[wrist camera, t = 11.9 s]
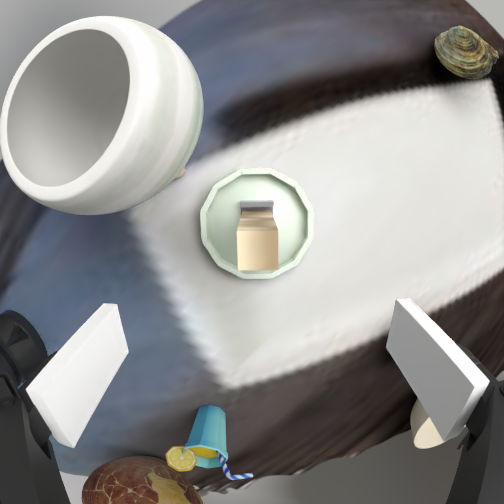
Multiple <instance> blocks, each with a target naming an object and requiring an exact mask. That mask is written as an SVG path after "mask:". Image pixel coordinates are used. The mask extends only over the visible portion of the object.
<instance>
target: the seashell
mask: <svg viewBox="0 0 504 504" xmlns="http://www.w3.org/2000/svg"><path fill="white" fill-rule="evenodd" d="M435 51H436V55H437V57H438V58H439V60H440V62H441V63H442V64H443V65H444V66H445V67H446V68H447V69H448V70H449V71H451V72H452V73H454V74H456V75H458V76H460V77H463V78H467V79H478V78H482V77H484V76H486V75H487V74H488V73H489V72H490V71H491V68H492V65H493V64H494V63H496V61H497V58H499V55H498V52H497V51H496V50H495V49H494V48H493V47H492V46H490V45H489V44H488V43H487V42H485V41H484V40H482V39H481V38H480V36H478V35H477V34H476V33H475V32H473V31H471V30H469V29H467V28H465V27H463V26H456V27H453V28H451V29H450V30H449V31H446V32H443V33H441V34H440V35H439V36H438V37H436V38H435Z"/></svg>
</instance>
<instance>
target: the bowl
mask: <svg viewBox="0 0 504 504" xmlns="http://www.w3.org/2000/svg"><path fill="white" fill-rule="evenodd" d="M410 422H411V430H412V436H413V441H414V444H415V446H416V447H418V448H430V447H434V446H436V445H439V444H441V443H443V442H445V441H443V440H442V438H441V436H440V435H439V433H438V431H437V429H436V428H435V426H434V424H433V422H432V421H431V419H430V417H429V416H428V414H427V412H426V411H425V409H424V407H423V406H422V404H421V402H420V401H419V399H417V400H416V402H415V404H414V406H413V409H412V412H411V419H410ZM465 426H466V425H465ZM465 426H464V427H465ZM446 441H447V440H446Z"/></svg>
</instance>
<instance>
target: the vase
mask: <svg viewBox="0 0 504 504" xmlns="http://www.w3.org/2000/svg"><path fill="white" fill-rule="evenodd" d="M82 503H83V504H203V502H202V500H201V498H200V496H199V494H198V492H197V491H196V490H195V488H194V486H193V485H192V484H191V483H190V481H189V480H188V479H187V478H186V477H185V475H184V474H183V473H181V472H178V471H177V470H175V469H173V468H172V467H170V466H168V463H167V462H166V461H164V460H162V459H159V458H156V457H151V456H128V457H122V458H118V459H115V460H112V461H110V462H108V463H105V464H103V465H102V466H100V467H98V468H97V469H96V470H95V471H94V472H93V473H92V474H91V475H90V476H89V478H88V479H87V481H86V482H85V484H84V486H83V490H82Z"/></svg>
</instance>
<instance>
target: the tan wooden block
mask: <svg viewBox="0 0 504 504" xmlns="http://www.w3.org/2000/svg"><path fill="white" fill-rule="evenodd" d="M237 256H238V270H278V228H277V225H276V223H275V220H274V217H273V214H272V212H271V210H243V211H242V214H241V218H240V221H239V225H238V228H237Z"/></svg>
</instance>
